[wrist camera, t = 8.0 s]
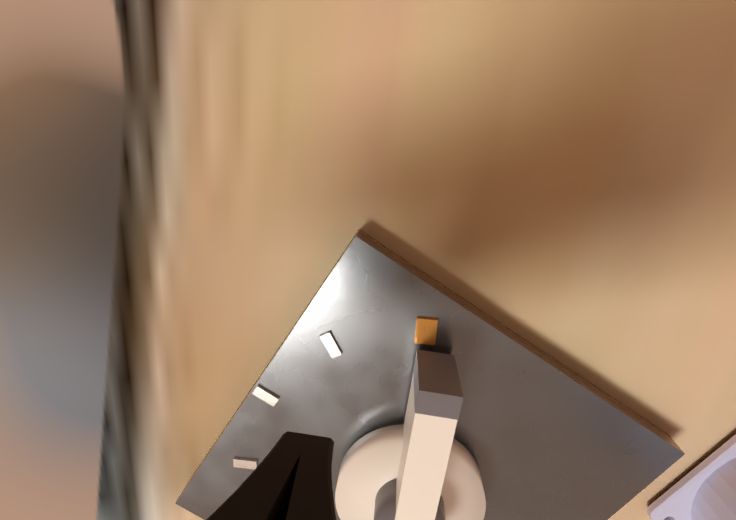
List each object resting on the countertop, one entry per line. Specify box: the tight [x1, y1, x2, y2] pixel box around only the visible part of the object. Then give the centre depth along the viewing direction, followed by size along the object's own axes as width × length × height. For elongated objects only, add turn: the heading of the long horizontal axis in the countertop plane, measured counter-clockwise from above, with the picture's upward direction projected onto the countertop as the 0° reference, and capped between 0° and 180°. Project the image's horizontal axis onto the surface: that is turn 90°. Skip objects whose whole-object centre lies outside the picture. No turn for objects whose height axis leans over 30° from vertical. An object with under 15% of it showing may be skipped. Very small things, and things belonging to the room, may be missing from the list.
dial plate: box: [176, 230, 684, 520], centre depth 22 cm, size 18×18×1 cm
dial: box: [335, 349, 486, 520], centre depth 19 cm, size 11×7×3 cm, turn 173°
